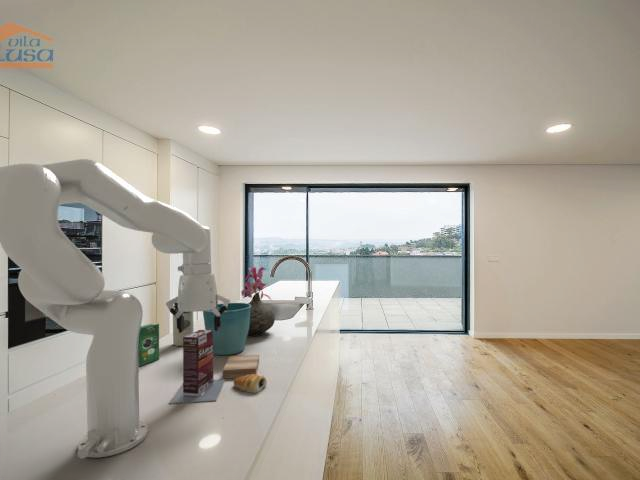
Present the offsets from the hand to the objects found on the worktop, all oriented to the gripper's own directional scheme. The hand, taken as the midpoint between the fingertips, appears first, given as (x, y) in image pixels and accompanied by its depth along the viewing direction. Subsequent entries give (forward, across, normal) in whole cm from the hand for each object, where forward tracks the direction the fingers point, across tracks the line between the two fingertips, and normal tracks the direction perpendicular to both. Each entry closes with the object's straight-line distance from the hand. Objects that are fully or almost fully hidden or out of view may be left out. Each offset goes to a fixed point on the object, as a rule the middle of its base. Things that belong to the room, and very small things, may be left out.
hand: (199, 330), depth 99 cm
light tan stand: (+17, +10, +14) cm, 24 cm away
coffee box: (+17, -24, +26) cm, 40 cm away
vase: (+18, +11, +59) cm, 63 cm away
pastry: (+18, +14, 0) cm, 22 cm away
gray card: (+17, 0, -1) cm, 17 cm away
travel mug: (+18, -18, +48) cm, 55 cm away
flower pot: (+18, +2, +35) cm, 40 cm away
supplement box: (+17, 0, -1) cm, 17 cm away
